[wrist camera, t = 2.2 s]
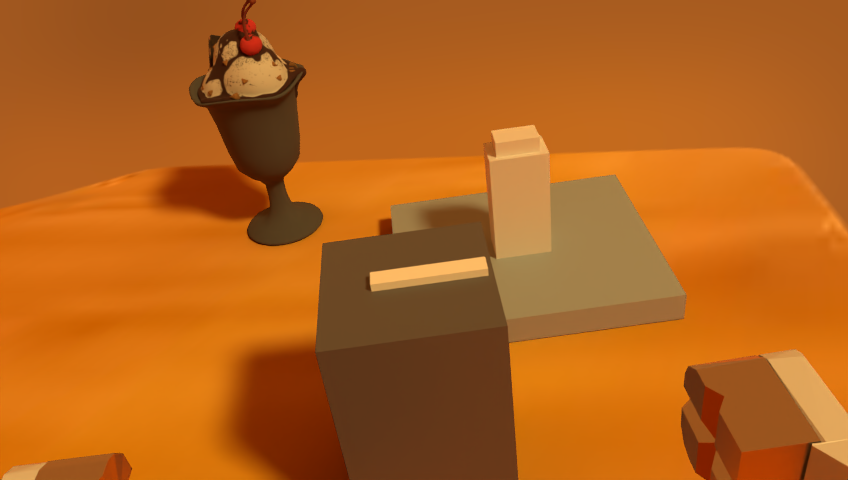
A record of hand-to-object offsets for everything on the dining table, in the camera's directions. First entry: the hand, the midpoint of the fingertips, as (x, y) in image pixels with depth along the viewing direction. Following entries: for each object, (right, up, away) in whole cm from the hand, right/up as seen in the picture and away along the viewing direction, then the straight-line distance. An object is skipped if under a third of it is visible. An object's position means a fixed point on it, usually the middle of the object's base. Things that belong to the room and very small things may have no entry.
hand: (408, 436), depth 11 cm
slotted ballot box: (+1, -7, +20) cm, 21 cm away
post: (+6, +1, +31) cm, 32 cm away
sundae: (-9, +4, +38) cm, 39 cm away
